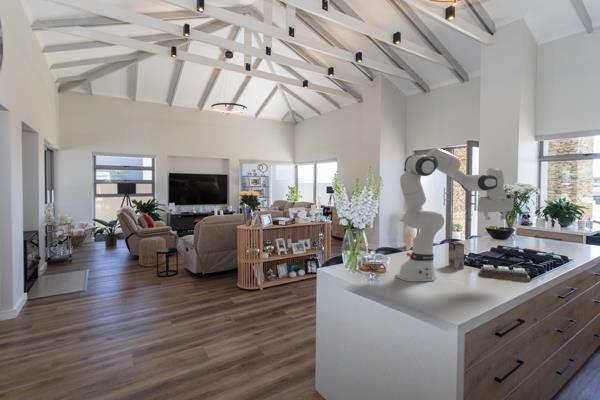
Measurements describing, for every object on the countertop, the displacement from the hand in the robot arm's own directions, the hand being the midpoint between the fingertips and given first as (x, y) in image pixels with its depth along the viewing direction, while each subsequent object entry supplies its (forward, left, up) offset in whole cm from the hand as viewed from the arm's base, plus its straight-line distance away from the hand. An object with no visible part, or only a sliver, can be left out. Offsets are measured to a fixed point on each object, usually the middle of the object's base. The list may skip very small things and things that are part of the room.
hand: (495, 219), depth 178 cm
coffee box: (-5, +25, -34) cm, 42 cm away
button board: (+4, -2, -34) cm, 34 cm away
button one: (+4, -2, -30) cm, 30 cm away
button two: (+9, -8, -30) cm, 32 cm away
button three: (-2, +3, -30) cm, 30 cm away
